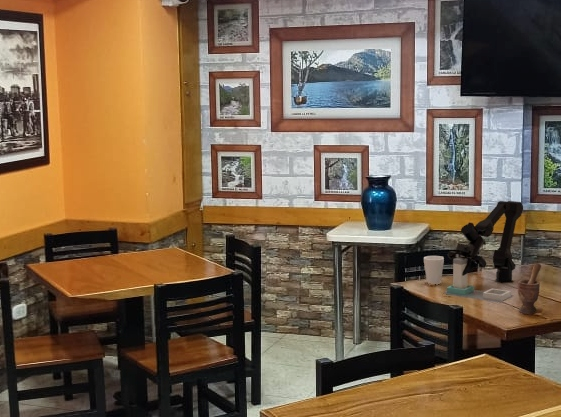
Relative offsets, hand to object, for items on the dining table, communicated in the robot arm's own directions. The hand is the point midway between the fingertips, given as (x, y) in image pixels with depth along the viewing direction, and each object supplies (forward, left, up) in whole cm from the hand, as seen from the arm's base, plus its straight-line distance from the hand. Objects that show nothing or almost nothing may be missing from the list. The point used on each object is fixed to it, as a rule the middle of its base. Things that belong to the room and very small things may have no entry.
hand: (458, 274), depth 369 cm
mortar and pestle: (-16, +34, -10) cm, 39 cm away
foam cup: (+3, -22, -10) cm, 24 cm away
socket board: (-7, +6, -9) cm, 13 cm away
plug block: (-1, -1, -7) cm, 7 cm away
